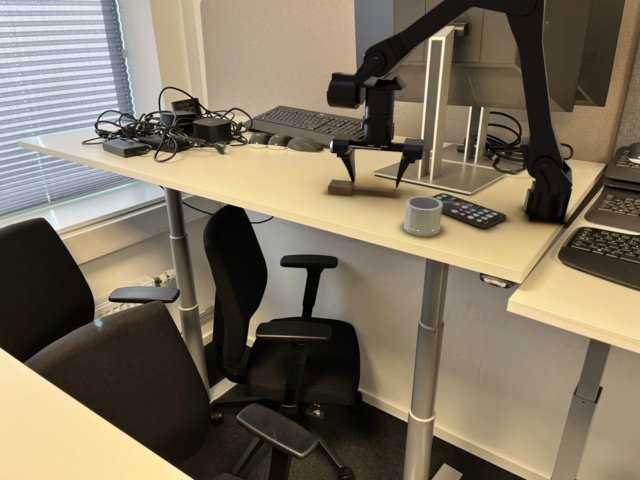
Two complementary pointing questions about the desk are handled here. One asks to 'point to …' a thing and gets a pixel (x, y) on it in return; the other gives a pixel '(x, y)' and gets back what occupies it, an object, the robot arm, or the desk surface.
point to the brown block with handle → (357, 189)
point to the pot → (423, 215)
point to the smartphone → (469, 211)
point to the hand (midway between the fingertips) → (375, 185)
